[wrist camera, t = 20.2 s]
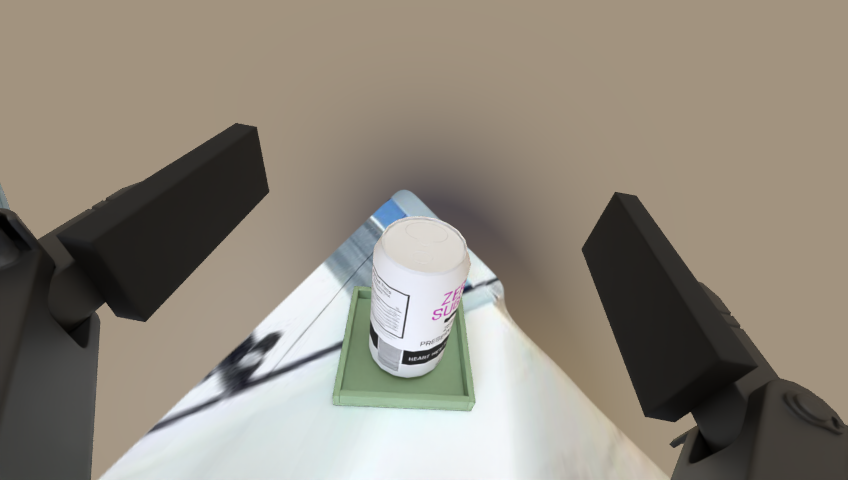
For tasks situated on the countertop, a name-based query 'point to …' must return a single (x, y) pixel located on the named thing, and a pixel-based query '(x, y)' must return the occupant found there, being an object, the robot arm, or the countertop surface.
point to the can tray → (379, 388)
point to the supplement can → (415, 293)
